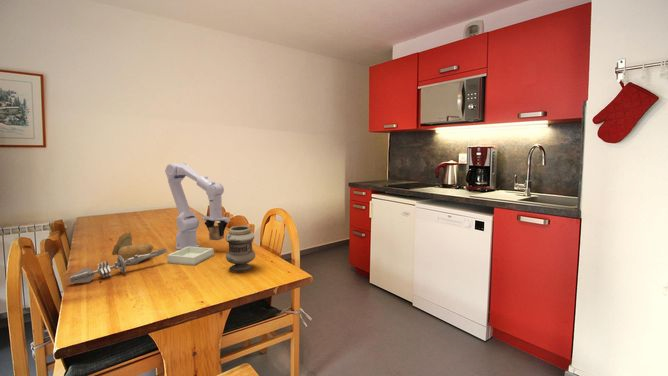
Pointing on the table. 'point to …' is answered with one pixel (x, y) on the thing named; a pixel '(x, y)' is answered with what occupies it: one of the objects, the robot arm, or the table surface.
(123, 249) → the potato
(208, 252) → the sage tray
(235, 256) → the apothecary jar
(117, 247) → the rock
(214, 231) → the walnut block
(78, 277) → the spaceship
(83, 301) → the table surface
